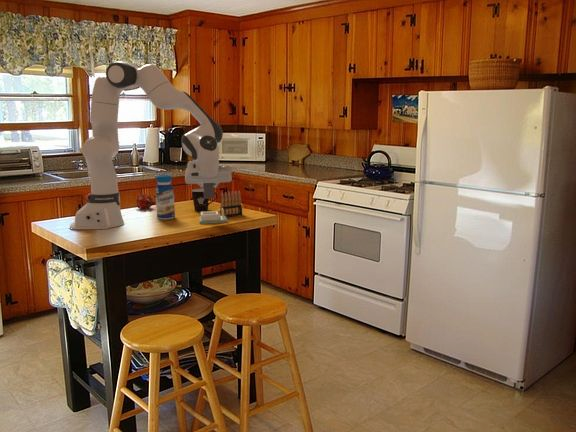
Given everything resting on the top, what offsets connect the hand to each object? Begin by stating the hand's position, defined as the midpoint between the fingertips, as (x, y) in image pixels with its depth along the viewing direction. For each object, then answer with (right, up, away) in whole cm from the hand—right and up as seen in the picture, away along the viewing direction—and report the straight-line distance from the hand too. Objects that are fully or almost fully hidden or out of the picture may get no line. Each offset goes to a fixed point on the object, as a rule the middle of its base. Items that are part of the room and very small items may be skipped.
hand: (208, 186), depth 247 cm
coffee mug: (-6, -10, +28) cm, 31 cm away
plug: (0, -5, 0) cm, 5 cm away
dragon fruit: (-37, -10, +35) cm, 52 cm away
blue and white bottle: (-21, -14, +11) cm, 28 cm away
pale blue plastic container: (+2, -15, +3) cm, 16 cm away
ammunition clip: (+9, -13, +13) cm, 21 cm away
